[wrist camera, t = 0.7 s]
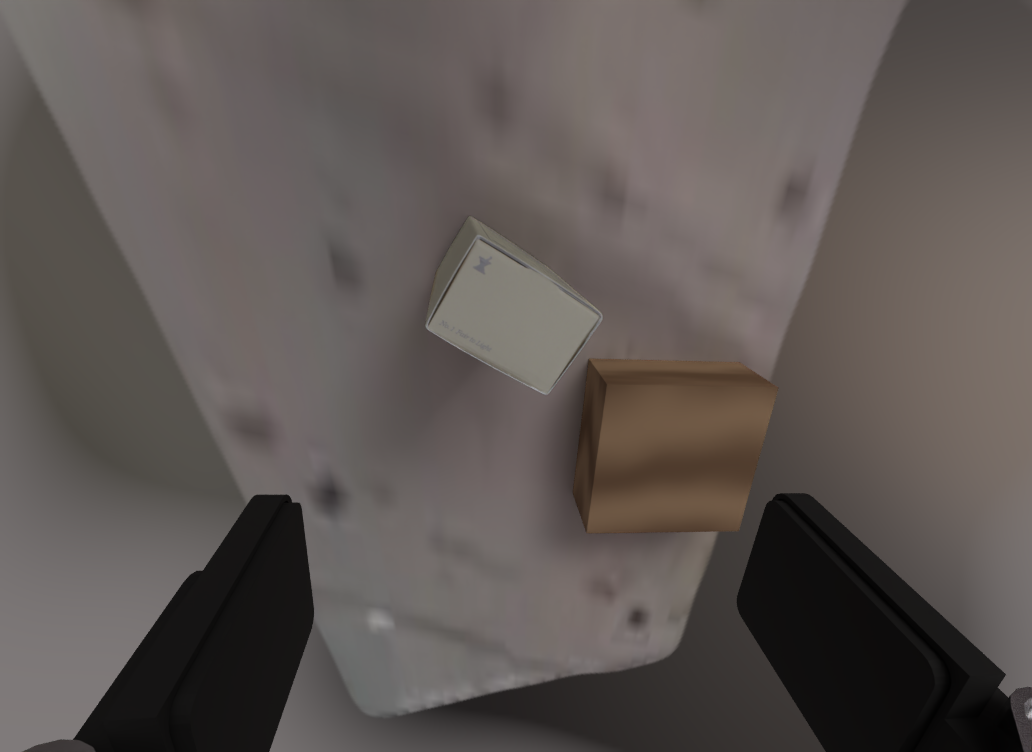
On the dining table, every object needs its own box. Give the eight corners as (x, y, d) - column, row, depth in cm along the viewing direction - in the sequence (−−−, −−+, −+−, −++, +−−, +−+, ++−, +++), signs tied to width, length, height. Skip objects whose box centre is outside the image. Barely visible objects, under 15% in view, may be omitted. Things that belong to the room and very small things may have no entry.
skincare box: (433, 274, 30) (414, 328, 19) (470, 211, 29) (473, 228, 18) (517, 325, 32) (545, 402, 20) (555, 267, 31) (607, 316, 19)
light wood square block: (587, 357, 33) (607, 384, 29) (736, 360, 35) (778, 387, 30) (571, 490, 37) (586, 533, 33) (706, 489, 39) (738, 531, 34)
